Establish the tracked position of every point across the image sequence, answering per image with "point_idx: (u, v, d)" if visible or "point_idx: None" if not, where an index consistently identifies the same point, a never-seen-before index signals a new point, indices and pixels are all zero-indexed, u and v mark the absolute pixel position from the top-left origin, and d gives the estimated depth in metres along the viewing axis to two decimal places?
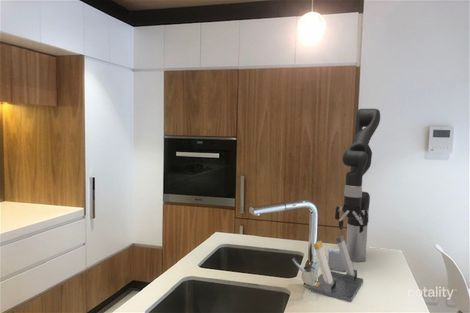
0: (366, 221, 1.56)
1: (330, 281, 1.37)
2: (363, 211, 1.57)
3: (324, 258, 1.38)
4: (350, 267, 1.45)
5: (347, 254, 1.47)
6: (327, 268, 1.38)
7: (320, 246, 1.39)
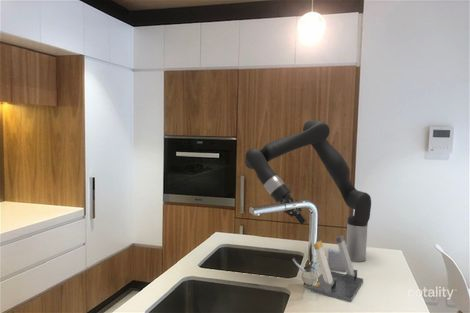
0: None
1: (330, 281, 1.37)
2: None
3: (324, 258, 1.38)
4: (350, 267, 1.45)
5: (347, 254, 1.47)
6: (327, 268, 1.38)
7: (320, 246, 1.39)
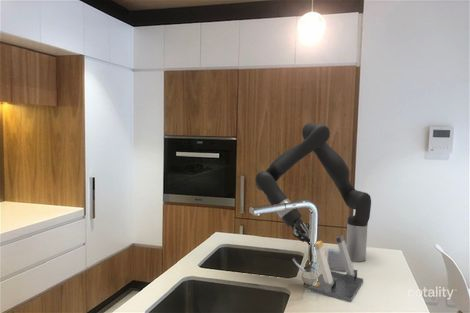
0: None
1: (330, 281, 1.37)
2: None
3: (324, 258, 1.38)
4: (350, 267, 1.45)
5: (347, 254, 1.47)
6: (327, 268, 1.38)
7: (321, 246, 1.39)
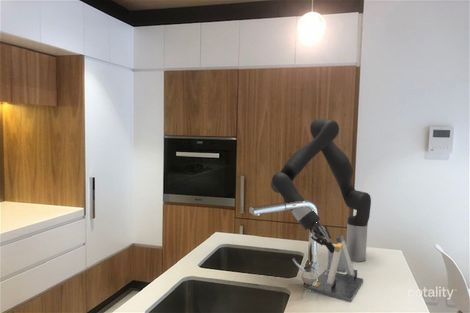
0: (320, 243, 1.35)
1: (332, 282, 1.36)
2: None
3: (337, 261, 1.36)
4: (350, 267, 1.45)
5: (347, 254, 1.47)
6: (335, 270, 1.36)
7: (340, 249, 1.35)
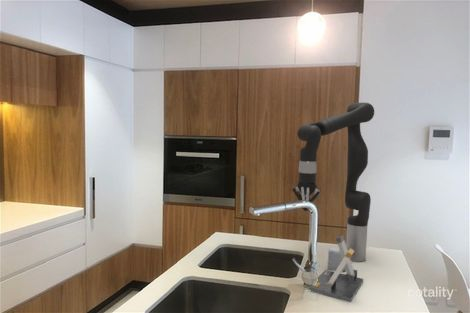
0: (312, 200, 1.52)
1: (332, 283, 1.36)
2: (316, 190, 1.52)
3: (344, 265, 1.34)
4: (350, 267, 1.45)
5: None
6: (339, 273, 1.36)
7: (351, 255, 1.33)
